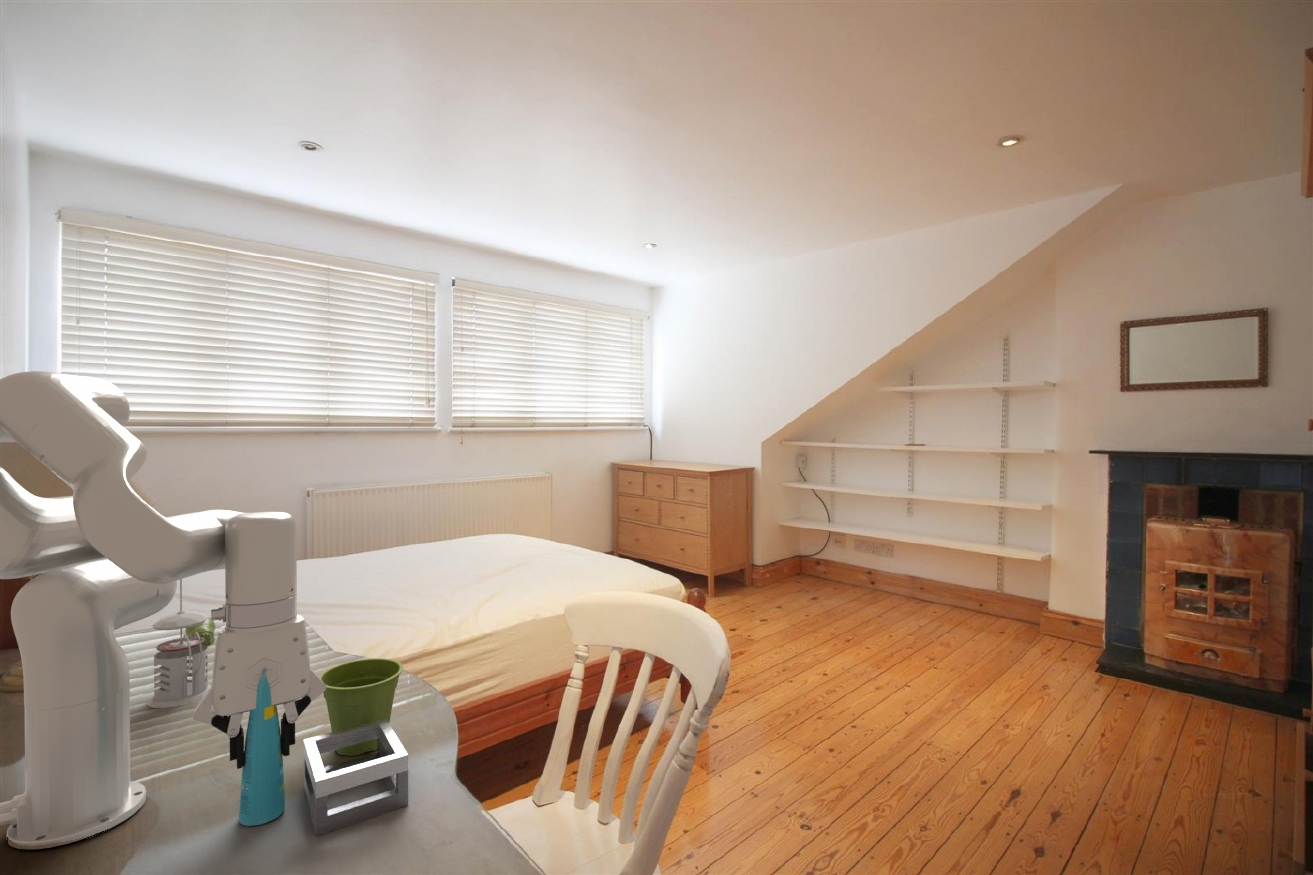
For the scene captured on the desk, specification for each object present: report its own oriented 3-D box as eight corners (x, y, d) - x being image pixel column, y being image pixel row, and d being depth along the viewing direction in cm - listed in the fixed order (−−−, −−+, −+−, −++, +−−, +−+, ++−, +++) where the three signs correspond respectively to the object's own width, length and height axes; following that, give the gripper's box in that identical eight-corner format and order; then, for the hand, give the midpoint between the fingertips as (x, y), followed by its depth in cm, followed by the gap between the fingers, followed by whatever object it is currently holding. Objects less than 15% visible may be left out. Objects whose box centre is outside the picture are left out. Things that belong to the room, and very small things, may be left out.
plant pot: (308, 771, 87) (307, 691, 87) (328, 732, 98) (328, 661, 98) (398, 759, 90) (397, 682, 90) (408, 722, 101) (407, 654, 101)
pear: (213, 610, 147) (218, 627, 140) (213, 631, 148) (218, 649, 141) (184, 615, 144) (188, 632, 136) (183, 636, 144) (187, 654, 137)
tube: (289, 821, 76) (290, 665, 76) (242, 837, 72) (243, 674, 73) (279, 794, 81) (280, 649, 81) (235, 808, 78) (236, 657, 78)
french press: (202, 681, 119) (201, 552, 119) (228, 695, 112) (227, 558, 112) (138, 699, 111) (137, 560, 111) (162, 715, 104) (161, 568, 104)
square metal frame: (316, 836, 73) (316, 781, 73) (303, 787, 83) (303, 739, 83) (408, 805, 79) (408, 754, 79) (386, 763, 89) (386, 718, 89)
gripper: (175, 632, 69) (176, 795, 69) (341, 607, 79) (342, 749, 79) (178, 616, 75) (179, 766, 75) (332, 595, 85) (333, 727, 85)
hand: (263, 756), depth 77 cm, fingers closed on tube, 4 cm apart
